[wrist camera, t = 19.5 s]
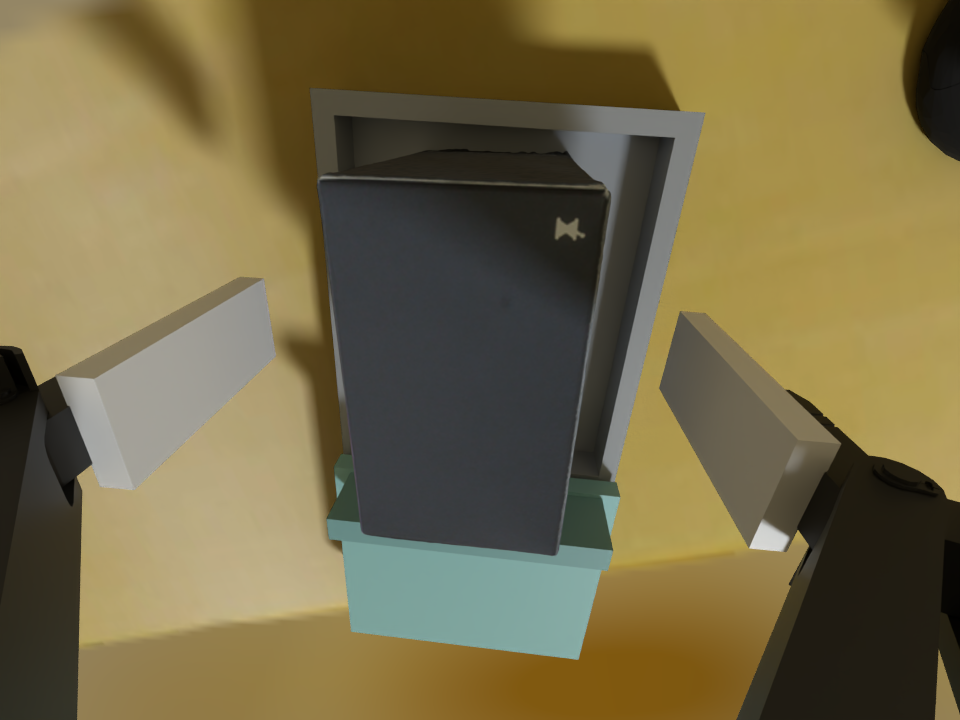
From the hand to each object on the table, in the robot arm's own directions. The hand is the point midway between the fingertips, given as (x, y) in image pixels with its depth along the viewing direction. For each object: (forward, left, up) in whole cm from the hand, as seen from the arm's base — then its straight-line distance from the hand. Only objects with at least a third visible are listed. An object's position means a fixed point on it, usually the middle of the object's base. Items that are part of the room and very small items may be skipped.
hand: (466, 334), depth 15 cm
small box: (0, 0, -7) cm, 7 cm away
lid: (0, -15, -4) cm, 16 cm away
